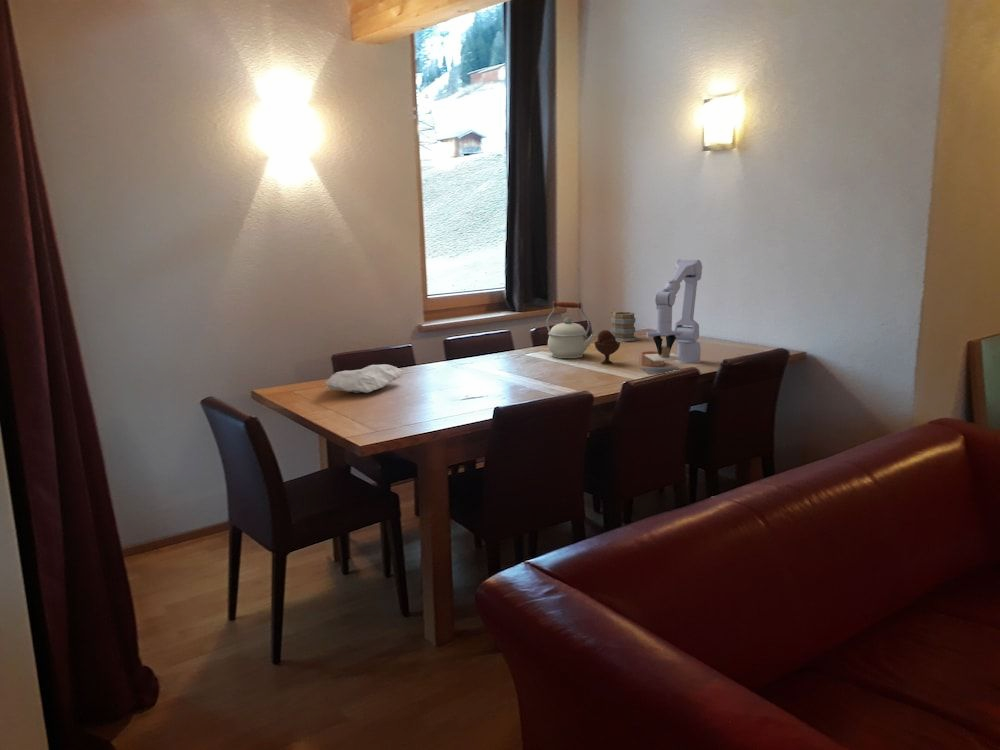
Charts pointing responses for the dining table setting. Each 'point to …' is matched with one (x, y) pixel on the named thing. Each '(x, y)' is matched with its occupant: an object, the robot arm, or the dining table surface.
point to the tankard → (623, 326)
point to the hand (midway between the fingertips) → (663, 354)
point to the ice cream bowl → (606, 345)
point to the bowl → (647, 361)
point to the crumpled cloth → (364, 378)
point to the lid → (664, 355)
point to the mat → (659, 370)
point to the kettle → (568, 335)
